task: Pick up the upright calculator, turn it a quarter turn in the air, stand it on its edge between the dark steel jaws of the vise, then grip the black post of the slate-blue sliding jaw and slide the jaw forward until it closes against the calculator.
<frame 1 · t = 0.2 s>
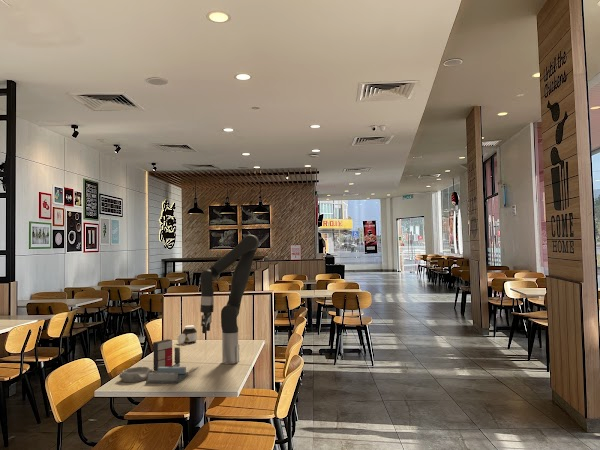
hand: (206, 331, 281), 17 cm above the table, tool pointing down, fingers open, 8 cm apart
sliding jaw: (174, 360, 254), point 7 cm above the table, slide at 0.0 cm
dish: (135, 379, 246), on the table
spread jar: (187, 343, 340), on the table
vise: (168, 378, 246), on the table
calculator: (163, 368, 267), on the table
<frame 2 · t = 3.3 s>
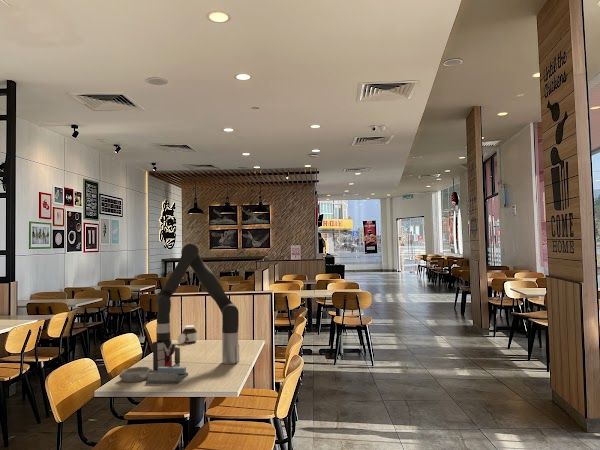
hand: (163, 362, 267), 3 cm above the table, tool pointing down, fingers open, 4 cm apart
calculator: (162, 368, 267), on the table, touching gripper
everything else where it was.
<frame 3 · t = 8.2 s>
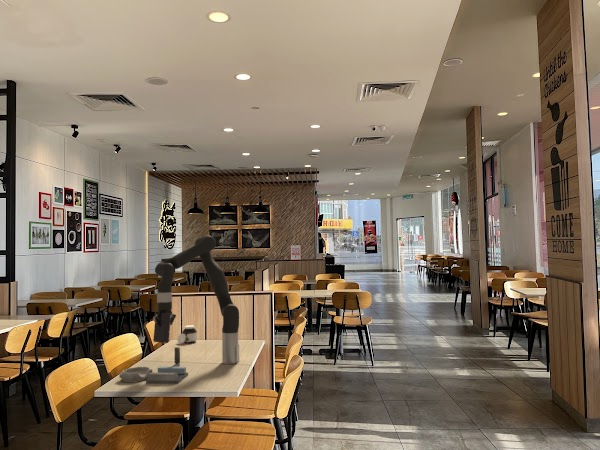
hand: (164, 334, 254), 21 cm above the table, tool pointing down, fingers closed on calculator
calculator: (160, 342, 251), point 17 cm above the table, touching gripper
everything else where it was.
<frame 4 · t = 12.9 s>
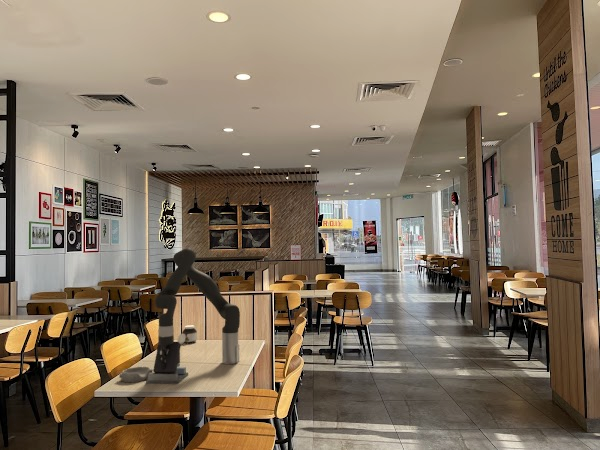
hand: (166, 368, 243), 6 cm above the table, tool pointing down, fingers open, 5 cm apart
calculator: (164, 372, 240), point 4 cm above the table, touching hand, vise
everything else where it was.
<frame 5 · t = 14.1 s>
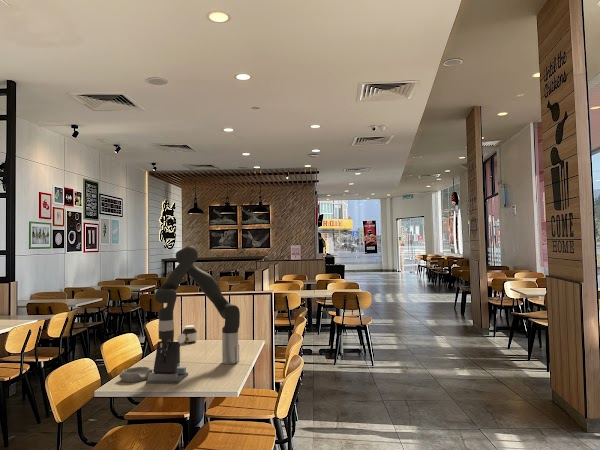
hand: (166, 361, 243), 9 cm above the table, tool pointing down, fingers open, 8 cm apart
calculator: (164, 373, 240), point 4 cm above the table, touching gripper, vise
everything else where it was.
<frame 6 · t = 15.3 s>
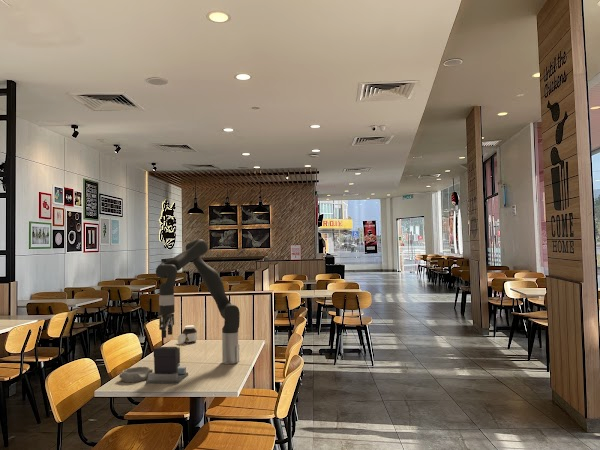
hand: (167, 336, 244), 22 cm above the table, tool pointing down, fingers open, 8 cm apart
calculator: (166, 377, 242), point 1 cm above the table, touching vise
everything else where it was.
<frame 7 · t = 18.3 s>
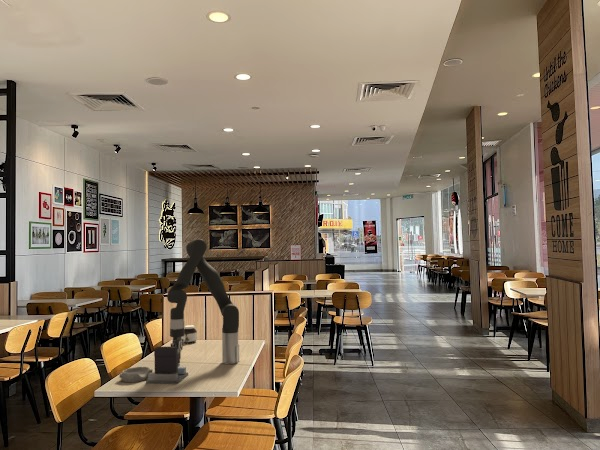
hand: (177, 359, 258), 7 cm above the table, tool pointing down, fingers closed on sliding jaw, 3 cm apart
sliding jaw: (174, 360, 254), point 7 cm above the table, slide at 0.0 cm, touching gripper
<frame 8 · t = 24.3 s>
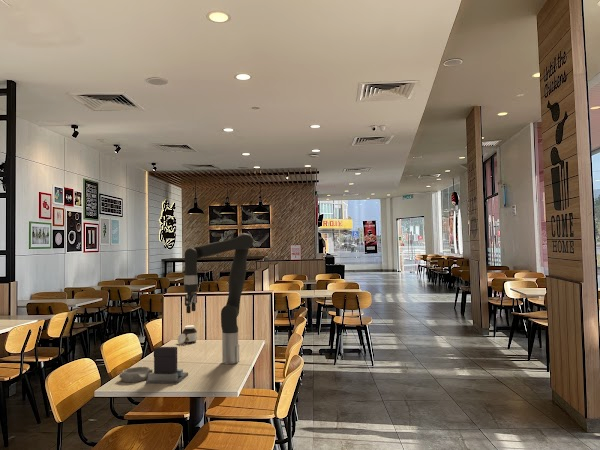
hand: (191, 312, 273), 30 cm above the table, tool pointing down, fingers open, 8 cm apart
sliding jaw: (171, 362, 250), point 7 cm above the table, slide at 4.7 cm
everything else where it was.
at the end: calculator 0.3 cm from the target spot on the vise, point 1.3 cm above the vise's base; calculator tilted 0°; sliding jaw slide at 4.7 cm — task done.
